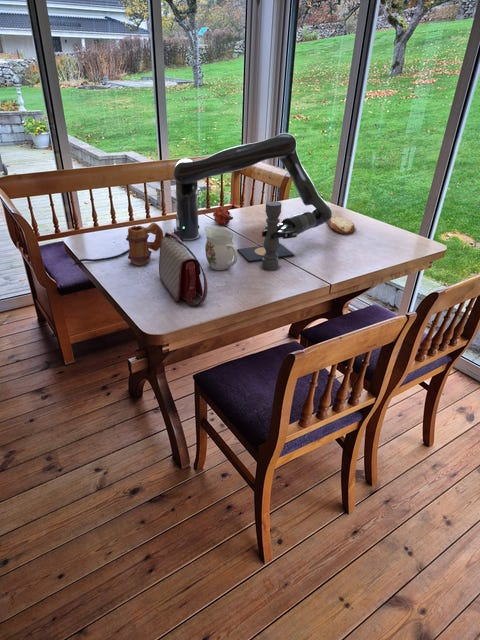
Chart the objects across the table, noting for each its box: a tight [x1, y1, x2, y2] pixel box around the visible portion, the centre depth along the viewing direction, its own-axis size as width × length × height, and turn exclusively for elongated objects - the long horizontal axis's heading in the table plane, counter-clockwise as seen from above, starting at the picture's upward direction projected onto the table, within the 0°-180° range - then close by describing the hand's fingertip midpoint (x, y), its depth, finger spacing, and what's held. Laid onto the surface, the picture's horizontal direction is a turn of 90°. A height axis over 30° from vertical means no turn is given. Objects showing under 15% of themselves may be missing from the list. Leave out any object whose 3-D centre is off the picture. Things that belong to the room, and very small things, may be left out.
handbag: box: [158, 231, 208, 306], centre depth 153 cm, size 28×11×17 cm, turn 25°
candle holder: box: [261, 200, 282, 271], centre depth 170 cm, size 6×6×25 cm
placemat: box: [236, 243, 295, 263], centre depth 188 cm, size 20×13×1 cm, turn 111°
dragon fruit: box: [212, 205, 234, 226], centre depth 218 cm, size 8×8×12 cm
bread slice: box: [326, 215, 356, 236], centre depth 217 cm, size 18×18×4 cm
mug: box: [125, 222, 164, 266], centre depth 175 cm, size 15×8×15 cm, turn 117°
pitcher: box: [204, 226, 239, 271], centre depth 172 cm, size 11×18×14 cm, turn 41°
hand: (266, 235), depth 168 cm, fingers closed on candle holder, 3 cm apart
